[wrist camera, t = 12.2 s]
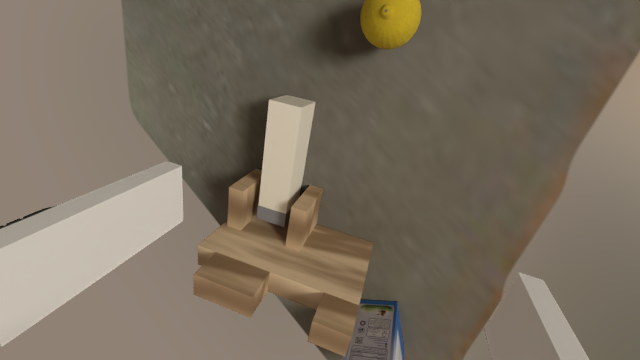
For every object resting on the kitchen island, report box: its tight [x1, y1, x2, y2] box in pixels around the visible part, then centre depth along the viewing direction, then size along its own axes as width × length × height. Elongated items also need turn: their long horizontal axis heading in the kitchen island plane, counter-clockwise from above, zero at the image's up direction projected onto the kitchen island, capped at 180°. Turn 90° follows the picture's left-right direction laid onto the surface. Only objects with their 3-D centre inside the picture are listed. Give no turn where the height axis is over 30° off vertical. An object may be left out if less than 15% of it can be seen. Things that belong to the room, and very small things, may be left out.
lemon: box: [360, 0, 421, 49], centre depth 28 cm, size 6×6×8 cm
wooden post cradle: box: [193, 169, 373, 357], centre depth 36 cm, size 9×20×16 cm, turn 80°
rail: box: [257, 95, 315, 227], centre depth 38 cm, size 16×4×5 cm, turn 170°
